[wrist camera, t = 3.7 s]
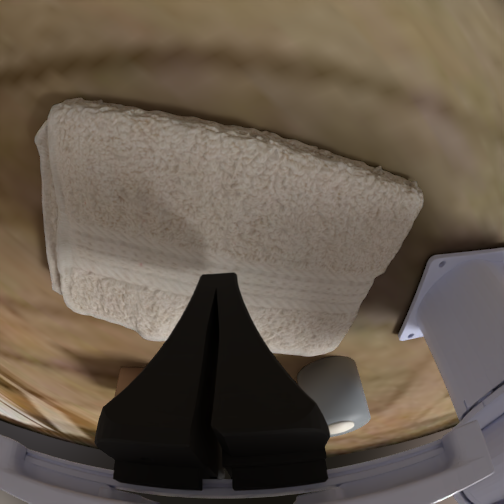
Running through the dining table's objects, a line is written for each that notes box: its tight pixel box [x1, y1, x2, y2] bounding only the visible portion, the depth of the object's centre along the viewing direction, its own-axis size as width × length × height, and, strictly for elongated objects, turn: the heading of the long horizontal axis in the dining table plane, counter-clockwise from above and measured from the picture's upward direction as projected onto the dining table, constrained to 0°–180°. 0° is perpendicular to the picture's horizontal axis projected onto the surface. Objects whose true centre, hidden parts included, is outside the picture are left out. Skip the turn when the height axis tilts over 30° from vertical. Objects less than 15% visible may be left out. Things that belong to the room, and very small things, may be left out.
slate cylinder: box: [297, 356, 371, 437], centre depth 22 cm, size 5×5×5 cm
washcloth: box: [35, 98, 424, 357], centre depth 14 cm, size 12×18×3 cm, turn 75°
